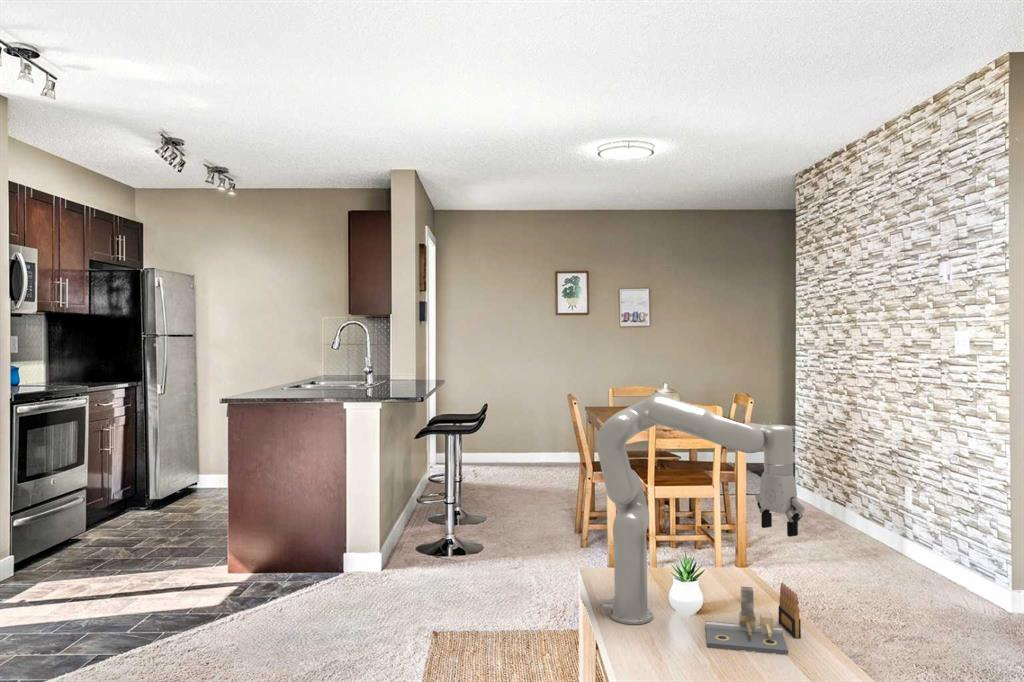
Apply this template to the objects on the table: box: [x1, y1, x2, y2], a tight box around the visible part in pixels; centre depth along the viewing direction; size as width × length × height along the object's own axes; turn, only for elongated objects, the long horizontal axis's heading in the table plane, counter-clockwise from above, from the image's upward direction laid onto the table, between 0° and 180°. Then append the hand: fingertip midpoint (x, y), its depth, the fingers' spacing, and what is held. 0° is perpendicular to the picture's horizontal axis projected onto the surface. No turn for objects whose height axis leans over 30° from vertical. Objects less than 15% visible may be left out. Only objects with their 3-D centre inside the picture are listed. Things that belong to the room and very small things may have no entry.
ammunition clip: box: [777, 581, 802, 639], centre depth 192 cm, size 11×2×12 cm, turn 1°
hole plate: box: [705, 612, 789, 655], centre depth 186 cm, size 20×15×6 cm
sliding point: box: [738, 586, 757, 638], centre depth 186 cm, size 4×9×10 cm, turn 166°
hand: (779, 531), depth 191 cm, fingers open, 9 cm apart
